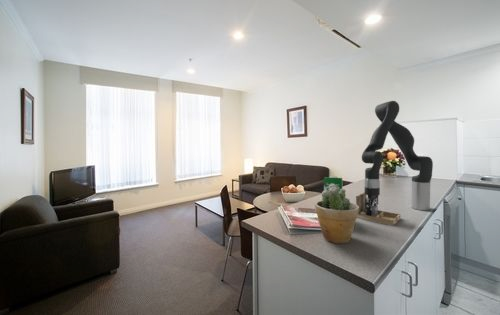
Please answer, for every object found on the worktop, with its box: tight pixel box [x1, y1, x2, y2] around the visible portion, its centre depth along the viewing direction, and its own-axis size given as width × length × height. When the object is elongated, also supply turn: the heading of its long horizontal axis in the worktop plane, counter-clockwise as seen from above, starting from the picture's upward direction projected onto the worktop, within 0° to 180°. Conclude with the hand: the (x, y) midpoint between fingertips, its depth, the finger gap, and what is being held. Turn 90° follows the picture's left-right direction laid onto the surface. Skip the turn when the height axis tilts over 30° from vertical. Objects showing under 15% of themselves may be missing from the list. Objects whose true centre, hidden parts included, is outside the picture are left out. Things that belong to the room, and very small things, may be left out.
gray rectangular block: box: [366, 205, 379, 217], centre depth 122 cm, size 4×4×6 cm
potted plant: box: [314, 184, 359, 244], centre depth 97 cm, size 18×19×25 cm
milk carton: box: [323, 175, 343, 191], centre depth 119 cm, size 9×9×25 cm
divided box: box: [355, 191, 401, 227], centre depth 119 cm, size 14×18×13 cm
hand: (371, 214), depth 122 cm, fingers open, 8 cm apart
